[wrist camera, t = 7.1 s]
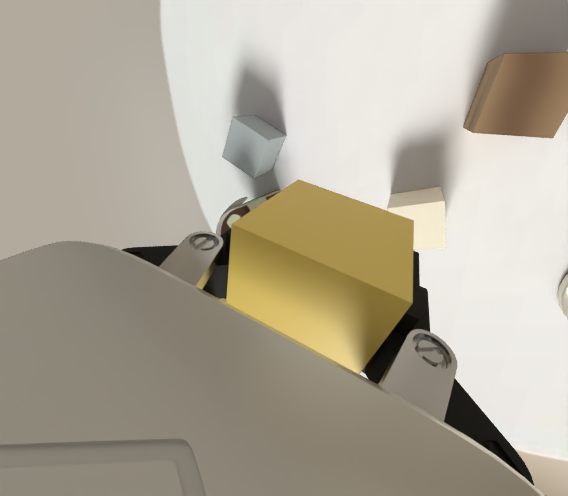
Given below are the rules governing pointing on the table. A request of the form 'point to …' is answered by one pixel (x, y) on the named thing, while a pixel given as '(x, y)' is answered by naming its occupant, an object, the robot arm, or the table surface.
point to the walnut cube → (521, 95)
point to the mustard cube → (323, 270)
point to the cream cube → (423, 215)
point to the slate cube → (252, 145)
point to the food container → (240, 211)
